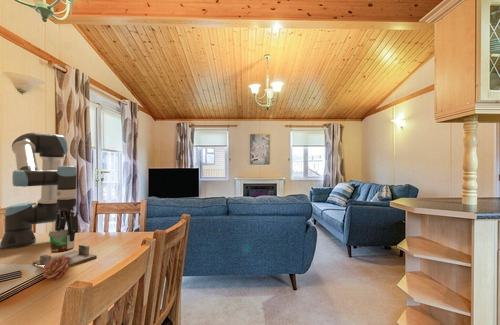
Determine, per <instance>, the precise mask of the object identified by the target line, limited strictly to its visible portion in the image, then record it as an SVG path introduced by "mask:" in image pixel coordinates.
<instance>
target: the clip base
mask: <svg viewBox="0 0 500 325" xmlns="http://www.w3.org/2000/svg"><path fill="white" fill-rule="evenodd" d="M63 255H64V256H65V257H69V260H68V268H70V267H73V266H77V265H80V264H83V263H86V262H90V261H92V260H95V259H97V256H98V255H96V254H92V253H90V245H88V244H84V243H83V244H82V243H80V244H78V250H69V251H66V252H62V253H60V254H59V253H58V254H57V255H53V256H51V255H48V254H44V253H43V254H39V259H38V260H35V261H32V265H33V264H37V265H46V264H47V263H48V262H49V261H50V260H51V259H52V258H57V257H61V256H63Z"/></svg>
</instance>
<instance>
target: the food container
mask: <svg viewBox="0 0 500 325" xmlns="http://www.w3.org/2000/svg"><path fill="white" fill-rule="evenodd" d="M67 234H69V233H68V228H65V229H63V230H59V231H55V230H54V231H49V232H48V237H49V243H50V252H51V254H59V253H60V254H61V253H67V252H70V251H73V249H74V248H70V249H67ZM75 237H76V234H75V235H74V239H76V238H75Z"/></svg>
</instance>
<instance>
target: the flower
mask: <svg viewBox="0 0 500 325" xmlns="http://www.w3.org/2000/svg"><path fill="white" fill-rule="evenodd" d="M68 260H69V257H65V256H64V255H63V256H61V257H57V258H52V259H51V260H50V261H49V262H48V263H47V264H46V265H45V266H44V268H42V270H43V274H42V275H43V278H46V279H52V278H53V281H56V280H57V279H58V278H60V277H61V276H62V275H65V272H67V271H68V270H69V269H70V267H68Z"/></svg>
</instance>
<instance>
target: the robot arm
mask: <svg viewBox="0 0 500 325" xmlns="http://www.w3.org/2000/svg"><path fill="white" fill-rule="evenodd" d="M11 151H12V152H13V153H14V154H15V163H16V170H14V171H12V177H11V179H12V186H13V187H23V188H26V187H41V190H40V192H41V194H40V199H39V200H37V204H34V203H33V202H29V201H28V202H21V203H17V204H12V205H9V206H7V207H6V208H5V210H4V233H3V236H2V238H1V240H0V249H4V250H5V249H7V250H8V249H17V248H22V247H29V246H31V245H34V244H36V242H37V238H36V236H35V233H34V230H33V225H39V224H41V225H42V224H46V223H55V227H54V232H55V231H59V230H63V229H68V233H69V234H67V249H70V248H73V249H74V248H75V238H74V235H75V236H76V234H77V233H79V225H78V214H79V212H78V211H75V210H74V207H76V206H77V177H78V176H77V175H78V172H77V171H78V170H77V167H76V166H75V165H61V162H62V161H61V160H62V159H64V157H65V155H67V154H68V142H67V139H66V137H65V136H64V135H61V134H54V133H52V134H51V133H37V132H28V133H25V134H21V135H19V136H18V137H17V138H15V139H14V140H13V141H12V144H11ZM36 154H38V155H39V157H40V158H41V159H42V167H41V168H42V169H39V168H38V163H37V159H36ZM66 227H67V228H66Z"/></svg>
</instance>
